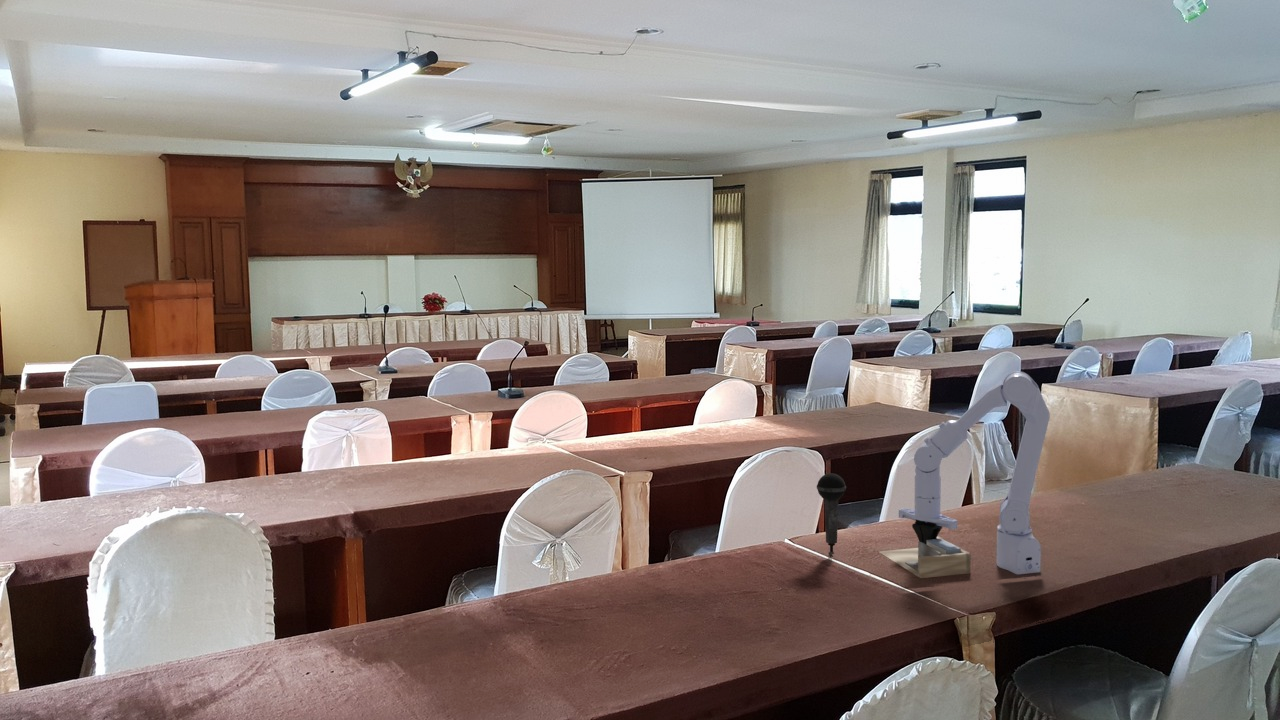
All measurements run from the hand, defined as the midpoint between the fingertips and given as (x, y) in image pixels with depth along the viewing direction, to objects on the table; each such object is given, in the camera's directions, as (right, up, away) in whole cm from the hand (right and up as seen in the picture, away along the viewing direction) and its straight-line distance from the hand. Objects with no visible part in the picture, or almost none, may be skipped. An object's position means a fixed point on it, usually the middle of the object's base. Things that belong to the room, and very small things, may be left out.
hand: (927, 553), depth 219 cm
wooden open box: (-2, -2, -3) cm, 4 cm away
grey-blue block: (+2, -2, -6) cm, 6 cm away
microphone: (-21, -2, +5) cm, 22 cm away
